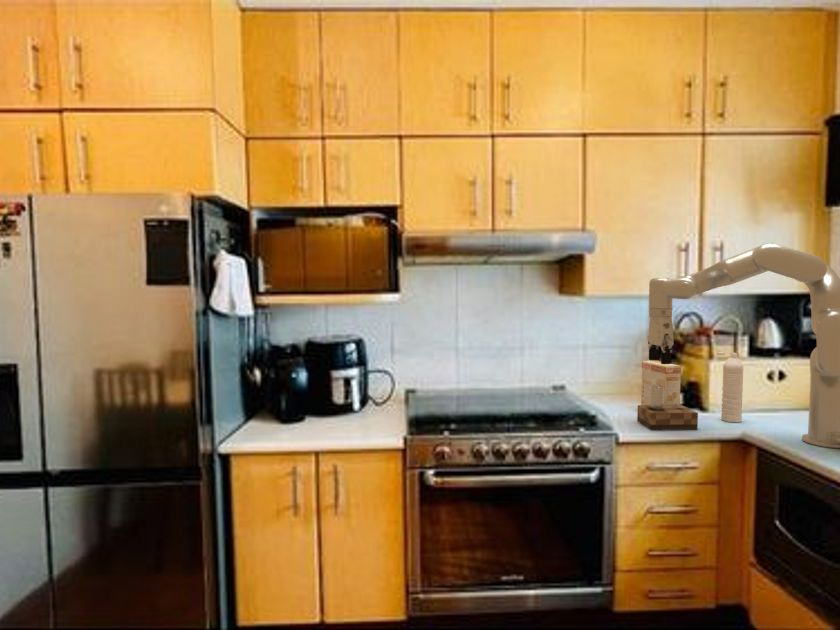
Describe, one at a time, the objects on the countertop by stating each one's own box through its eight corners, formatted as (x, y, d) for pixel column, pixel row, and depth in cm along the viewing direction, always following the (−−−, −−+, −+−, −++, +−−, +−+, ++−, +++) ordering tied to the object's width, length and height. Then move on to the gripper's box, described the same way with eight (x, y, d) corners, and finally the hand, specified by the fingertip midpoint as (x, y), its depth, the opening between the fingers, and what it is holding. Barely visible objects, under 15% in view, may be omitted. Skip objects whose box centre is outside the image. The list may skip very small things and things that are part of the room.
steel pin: (663, 421, 201) (665, 387, 200) (652, 421, 201) (654, 387, 200) (659, 418, 205) (660, 385, 204) (647, 418, 205) (649, 385, 204)
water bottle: (738, 418, 213) (740, 351, 211) (743, 423, 207) (746, 354, 205) (712, 417, 215) (714, 351, 213) (717, 421, 209) (719, 353, 207)
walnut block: (697, 430, 198) (697, 412, 197) (651, 430, 197) (651, 413, 197) (680, 421, 209) (681, 405, 209) (637, 421, 209) (637, 405, 209)
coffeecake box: (680, 417, 216) (681, 365, 215) (663, 418, 214) (664, 366, 213) (656, 408, 230) (657, 359, 229) (640, 409, 229) (641, 360, 228)
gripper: (683, 314, 193) (681, 365, 194) (659, 311, 210) (658, 358, 211) (660, 315, 192) (660, 365, 193) (639, 312, 210) (638, 358, 211)
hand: (659, 362), depth 202 cm, fingers open, 9 cm apart
